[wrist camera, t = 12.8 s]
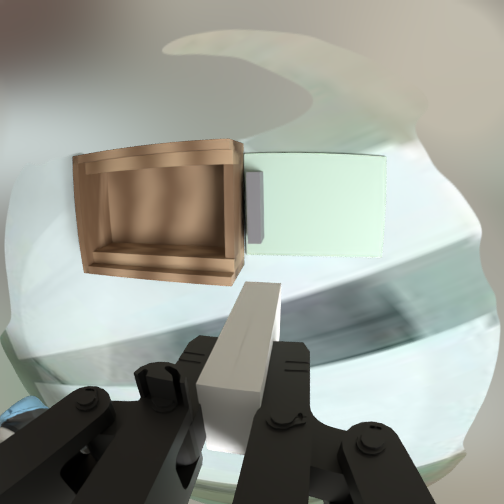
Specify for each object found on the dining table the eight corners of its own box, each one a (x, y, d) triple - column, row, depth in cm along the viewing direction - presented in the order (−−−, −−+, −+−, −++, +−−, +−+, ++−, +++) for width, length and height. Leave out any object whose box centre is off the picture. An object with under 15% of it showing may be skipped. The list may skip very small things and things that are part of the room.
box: (113, 256, 41) (84, 272, 34) (105, 155, 37) (72, 156, 30) (244, 264, 38) (231, 286, 31) (243, 143, 34) (229, 138, 27)
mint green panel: (247, 252, 38) (242, 262, 35) (245, 154, 35) (238, 152, 31) (380, 256, 35) (387, 265, 32) (384, 156, 32) (393, 156, 28)
